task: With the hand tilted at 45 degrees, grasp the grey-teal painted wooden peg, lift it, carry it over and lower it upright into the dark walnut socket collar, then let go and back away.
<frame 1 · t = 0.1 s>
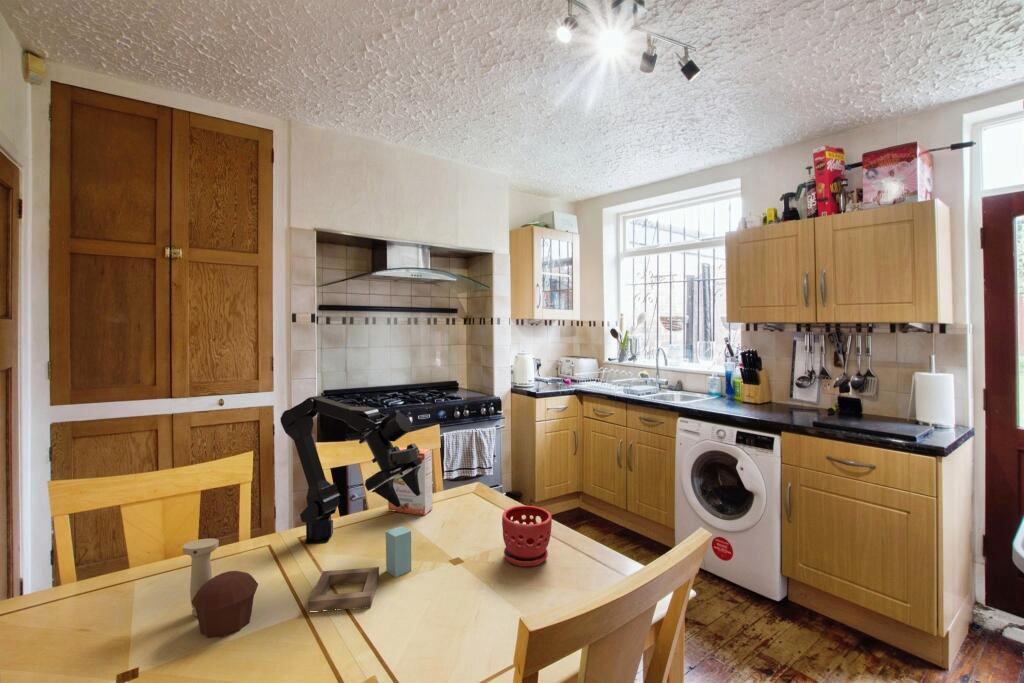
hand: (409, 500, 125), 15 cm above the table, tool tilted 35°, fingers open, 9 cm apart
plant pot: (527, 559, 123), on the table
cracker box: (410, 511, 158), on the table
muffin: (226, 625, 96), on the table
handle: (201, 614, 100), on the table
socket collar: (345, 593, 107), on the table
peg: (398, 570, 117), on the table
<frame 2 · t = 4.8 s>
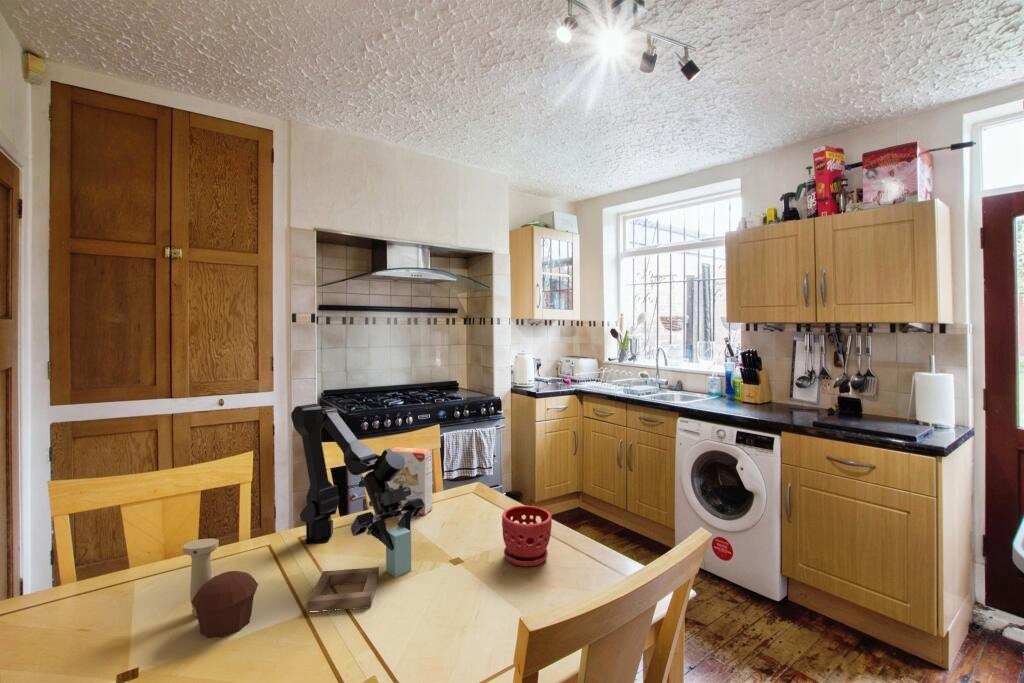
hand: (401, 546, 116), 7 cm above the table, tool tilted 45°, fingers closed on peg, 4 cm apart
peg: (398, 570, 117), on the table, touching gripper
everything else where it was.
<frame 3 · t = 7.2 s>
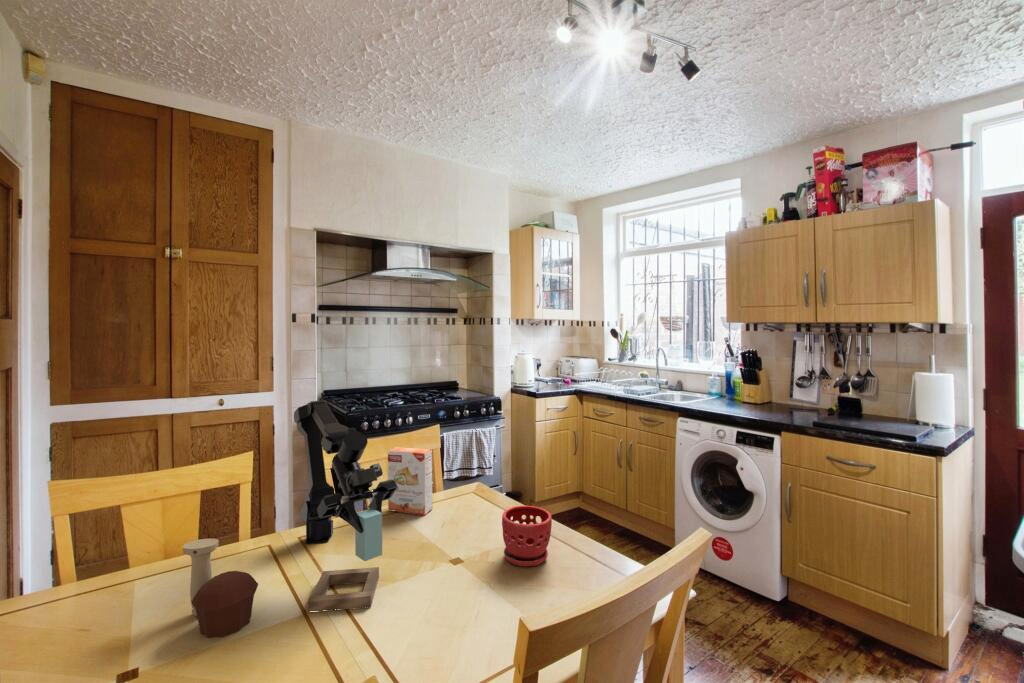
hand: (371, 529, 110), 13 cm above the table, tool tilted 45°, fingers closed on peg, 4 cm apart
peg: (368, 555, 111), point 7 cm above the table, touching gripper
everything else where it was.
when the fingers open (8 cm above the table, at t = 9.8 s): peg drops 1 cm, resting in socket collar.
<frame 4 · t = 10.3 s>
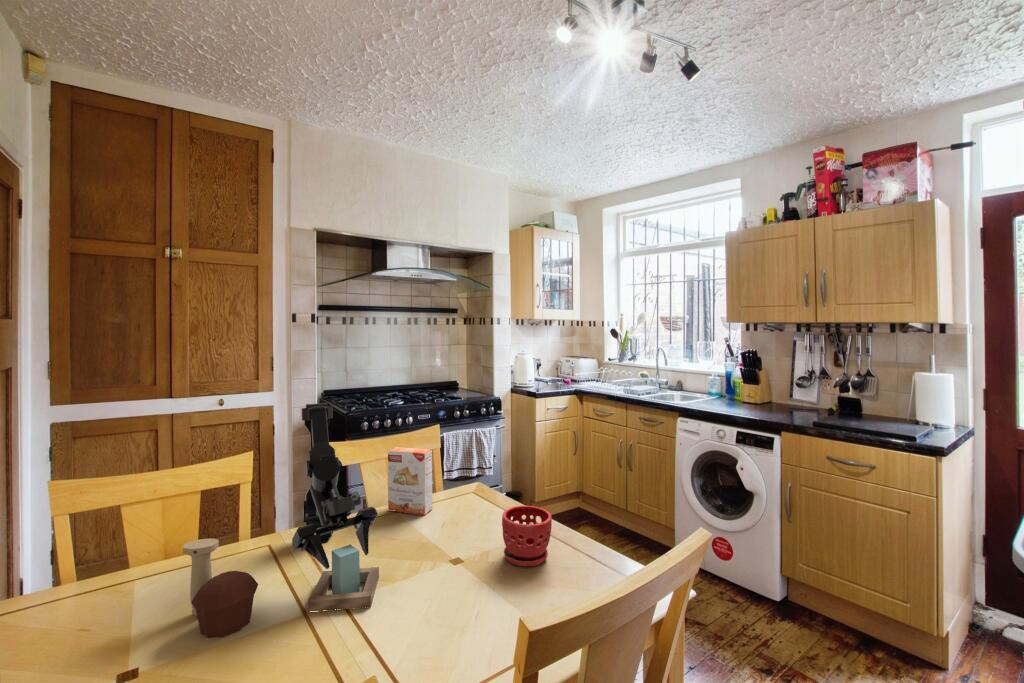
hand: (348, 561, 106), 8 cm above the table, tool tilted 45°, fingers open, 9 cm apart
peg: (346, 594, 107), resting in socket collar
everything else where it was.
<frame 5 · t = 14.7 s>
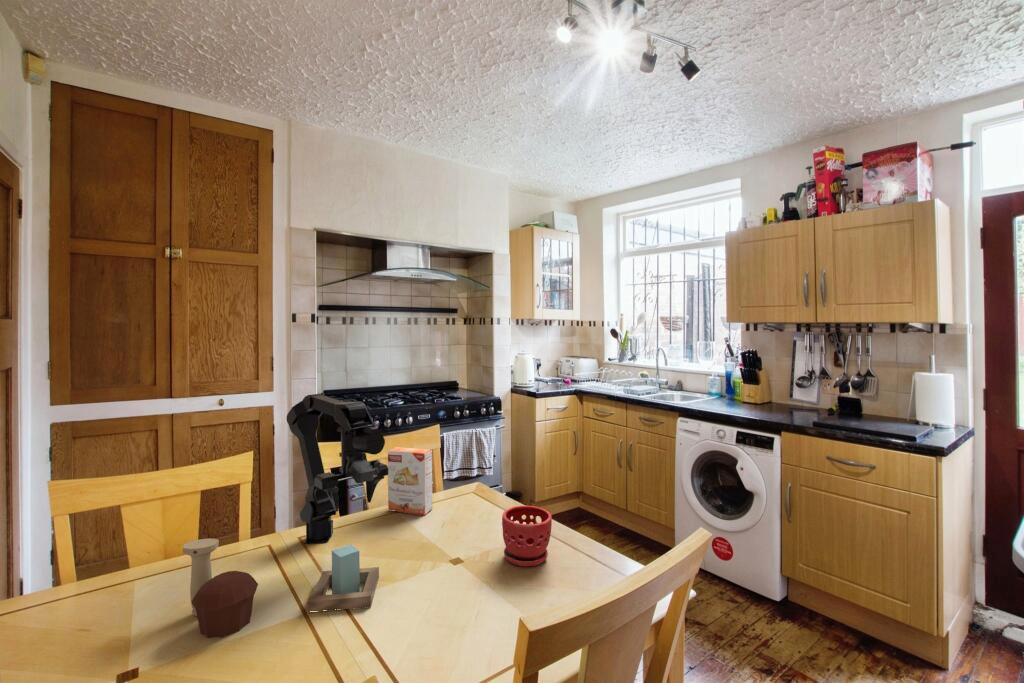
hand: (353, 506, 126), 13 cm above the table, tool pointing down, fingers open, 9 cm apart
nothing on the table moved.
at the end: peg 0.0 cm off-centre on the socket collar, point 0.0 cm above the socket collar's base; peg tilted 0°; the gripper is holding nothing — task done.
